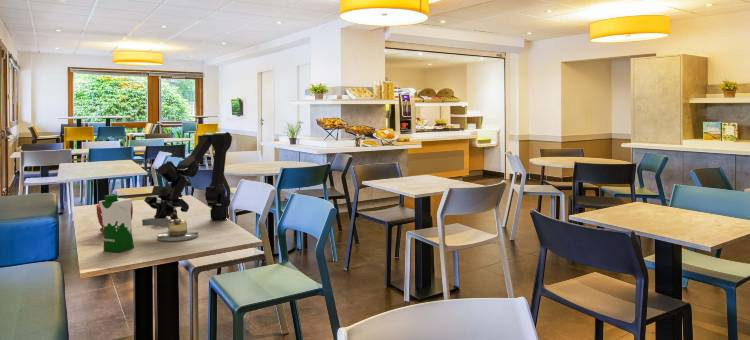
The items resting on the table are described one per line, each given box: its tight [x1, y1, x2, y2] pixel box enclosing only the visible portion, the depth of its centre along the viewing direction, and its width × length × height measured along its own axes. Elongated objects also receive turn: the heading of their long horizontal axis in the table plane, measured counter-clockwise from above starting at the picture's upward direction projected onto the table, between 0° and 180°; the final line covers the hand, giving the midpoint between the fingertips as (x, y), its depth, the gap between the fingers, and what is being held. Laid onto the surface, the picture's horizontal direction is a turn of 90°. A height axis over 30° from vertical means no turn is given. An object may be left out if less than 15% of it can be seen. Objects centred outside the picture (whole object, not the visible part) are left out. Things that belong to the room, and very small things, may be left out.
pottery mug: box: [153, 208, 180, 220], centre depth 232 cm, size 12×10×8 cm
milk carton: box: [98, 193, 135, 254], centre depth 189 cm, size 9×9×20 cm
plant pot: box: [96, 203, 134, 234], centre depth 215 cm, size 13×13×12 cm
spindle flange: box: [156, 218, 199, 243], centre depth 207 cm, size 15×15×7 cm
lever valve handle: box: [141, 217, 188, 236], centre depth 206 cm, size 16×7×6 cm, turn 104°
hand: (156, 222), depth 206 cm, fingers closed
